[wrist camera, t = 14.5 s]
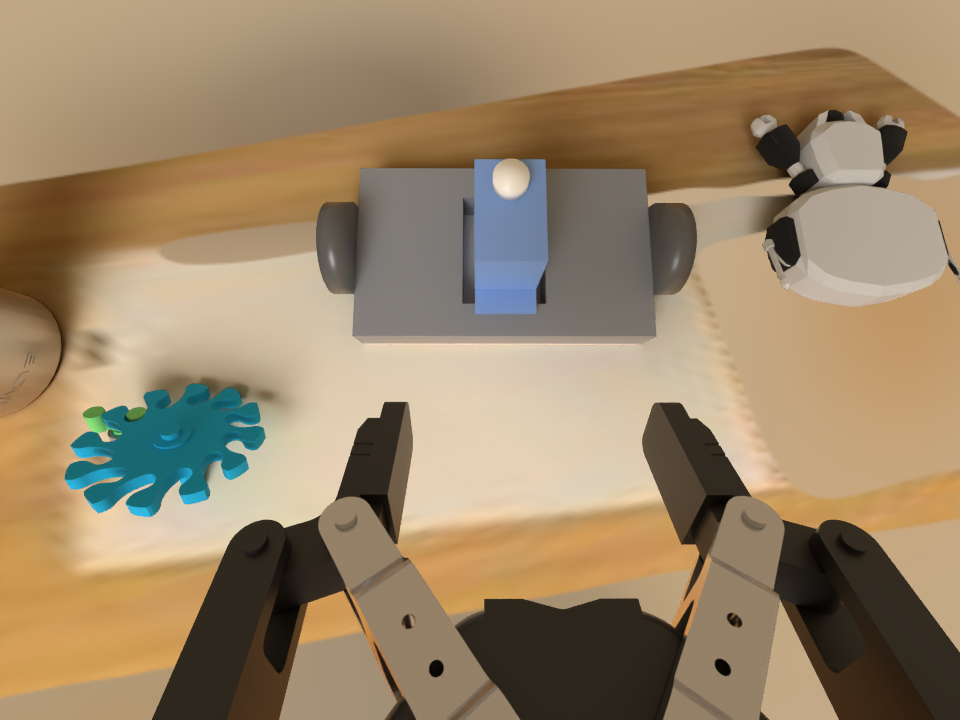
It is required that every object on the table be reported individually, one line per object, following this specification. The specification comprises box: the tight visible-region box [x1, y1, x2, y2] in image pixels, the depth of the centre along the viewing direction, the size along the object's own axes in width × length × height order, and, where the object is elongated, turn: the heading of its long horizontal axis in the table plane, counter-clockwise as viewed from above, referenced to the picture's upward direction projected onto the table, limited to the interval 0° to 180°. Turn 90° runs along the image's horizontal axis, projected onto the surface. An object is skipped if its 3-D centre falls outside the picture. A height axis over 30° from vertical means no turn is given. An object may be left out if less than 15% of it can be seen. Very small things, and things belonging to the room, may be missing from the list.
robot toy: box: [750, 110, 960, 307], centre depth 31 cm, size 12×4×15 cm
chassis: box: [316, 168, 697, 345], centre depth 29 cm, size 12×23×6 cm, turn 90°
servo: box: [474, 159, 548, 314], centre depth 27 cm, size 9×4×9 cm, turn 0°
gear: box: [65, 384, 265, 517], centre depth 27 cm, size 11×6×10 cm
